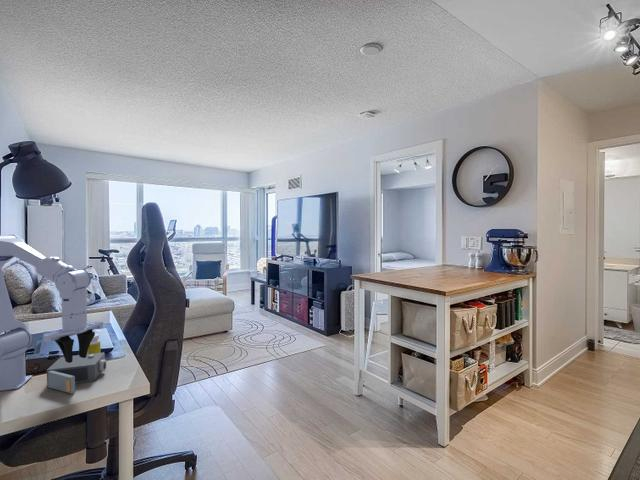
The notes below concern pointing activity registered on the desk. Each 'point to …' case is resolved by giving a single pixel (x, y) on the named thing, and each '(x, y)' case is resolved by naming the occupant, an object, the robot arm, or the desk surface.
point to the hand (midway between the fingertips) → (76, 359)
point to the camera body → (81, 367)
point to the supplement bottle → (94, 345)
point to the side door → (61, 381)
